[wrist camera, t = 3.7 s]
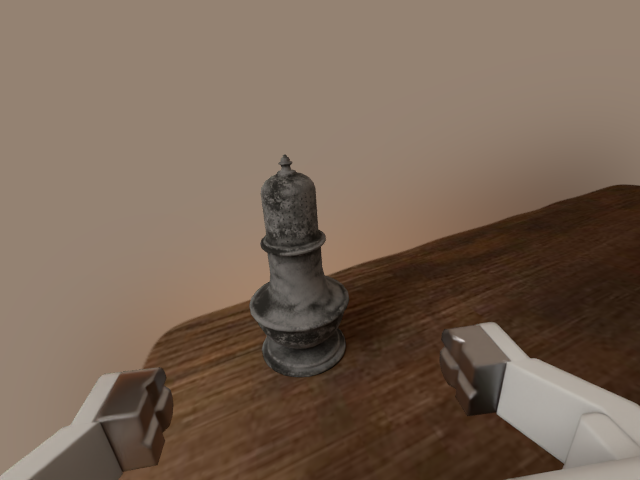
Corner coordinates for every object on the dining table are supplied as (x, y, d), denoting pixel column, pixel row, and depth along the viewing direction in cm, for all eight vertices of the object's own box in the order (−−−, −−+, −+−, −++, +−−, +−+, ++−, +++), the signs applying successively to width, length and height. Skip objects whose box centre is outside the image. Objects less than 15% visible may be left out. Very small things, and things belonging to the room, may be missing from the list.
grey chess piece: (367, 335, 23) (366, 147, 18) (312, 397, 18) (291, 172, 13) (297, 307, 26) (280, 142, 21) (238, 355, 22) (198, 162, 17)
